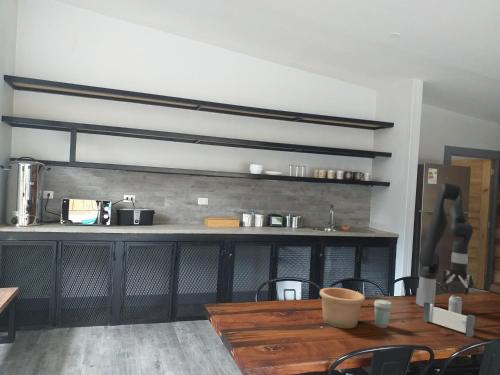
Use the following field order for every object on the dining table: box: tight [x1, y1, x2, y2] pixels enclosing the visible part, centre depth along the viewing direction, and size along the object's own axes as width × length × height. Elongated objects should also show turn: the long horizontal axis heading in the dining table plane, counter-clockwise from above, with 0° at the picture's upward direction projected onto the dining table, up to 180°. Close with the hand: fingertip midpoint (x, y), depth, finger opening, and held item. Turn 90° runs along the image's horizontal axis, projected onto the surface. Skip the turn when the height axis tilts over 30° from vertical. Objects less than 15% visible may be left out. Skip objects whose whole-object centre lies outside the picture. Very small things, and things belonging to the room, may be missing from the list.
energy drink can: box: [447, 294, 463, 315], centre depth 198 cm, size 6×6×15 cm
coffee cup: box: [373, 299, 393, 329], centre depth 189 cm, size 8×8×12 cm
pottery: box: [319, 287, 366, 329], centre depth 189 cm, size 22×22×14 cm
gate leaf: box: [428, 303, 468, 334], centre depth 192 cm, size 18×2×9 cm, turn 41°
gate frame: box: [422, 302, 476, 338], centre depth 192 cm, size 24×2×10 cm, turn 41°
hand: (457, 292), depth 198 cm, fingers open, 8 cm apart
